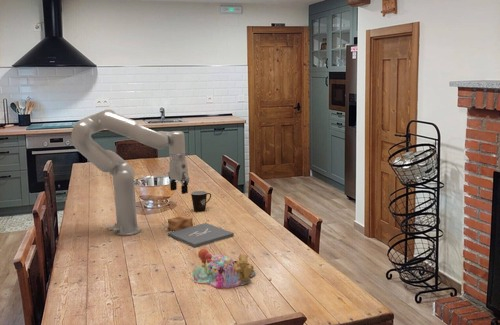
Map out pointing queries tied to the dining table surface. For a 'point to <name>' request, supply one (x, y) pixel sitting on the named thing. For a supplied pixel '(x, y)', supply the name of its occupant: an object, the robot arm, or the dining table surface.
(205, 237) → the board
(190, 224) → the block
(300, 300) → the dining table surface
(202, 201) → the coffee mug
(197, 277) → the candy landscape model
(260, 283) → the dining table surface
